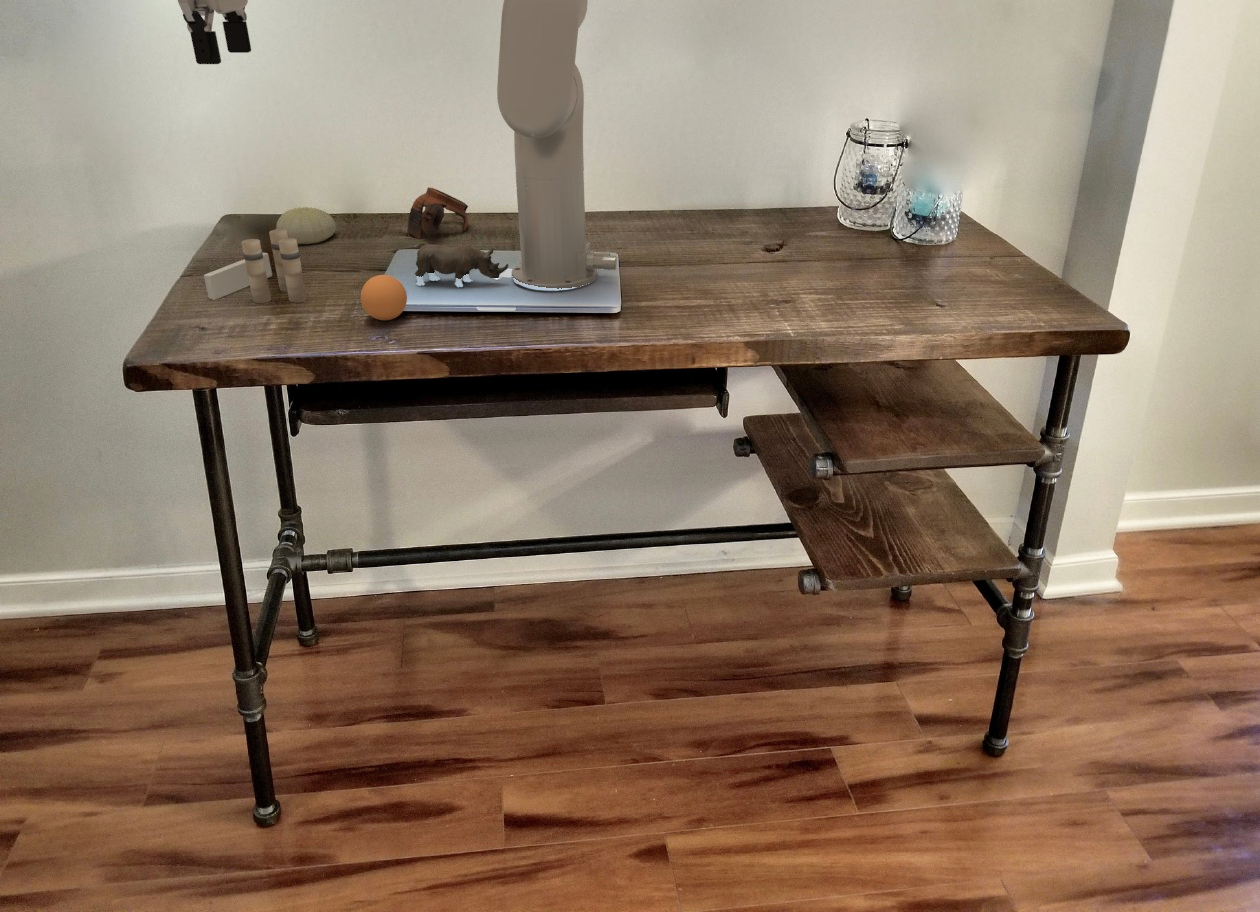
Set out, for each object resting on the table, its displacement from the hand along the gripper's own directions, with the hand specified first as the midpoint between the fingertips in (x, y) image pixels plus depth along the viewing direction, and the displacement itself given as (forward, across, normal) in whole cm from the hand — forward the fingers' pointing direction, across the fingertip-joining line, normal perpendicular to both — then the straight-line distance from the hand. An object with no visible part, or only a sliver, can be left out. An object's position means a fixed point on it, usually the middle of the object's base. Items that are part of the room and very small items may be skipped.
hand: (225, 58), depth 141 cm
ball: (+28, -17, -24) cm, 40 cm away
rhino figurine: (+31, -3, -31) cm, 44 cm away
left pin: (+31, -11, -4) cm, 33 cm away
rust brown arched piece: (+31, +20, -21) cm, 43 cm away
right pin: (+31, -7, -6) cm, 32 cm away
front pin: (+31, -11, -9) cm, 34 cm away
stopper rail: (+31, -6, +1) cm, 31 cm away
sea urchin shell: (+31, +17, 0) cm, 35 cm away
